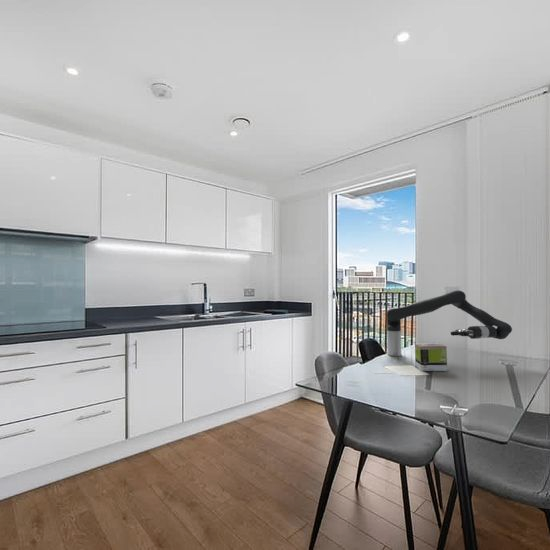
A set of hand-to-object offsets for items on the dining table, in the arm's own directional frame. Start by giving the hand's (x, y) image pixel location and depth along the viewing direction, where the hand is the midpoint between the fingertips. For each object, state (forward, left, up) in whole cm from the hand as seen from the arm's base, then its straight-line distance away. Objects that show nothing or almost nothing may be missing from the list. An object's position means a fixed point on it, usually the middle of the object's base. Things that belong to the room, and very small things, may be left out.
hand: (451, 333), depth 199 cm
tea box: (0, -14, -21) cm, 25 cm away
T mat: (0, -36, -21) cm, 41 cm away
